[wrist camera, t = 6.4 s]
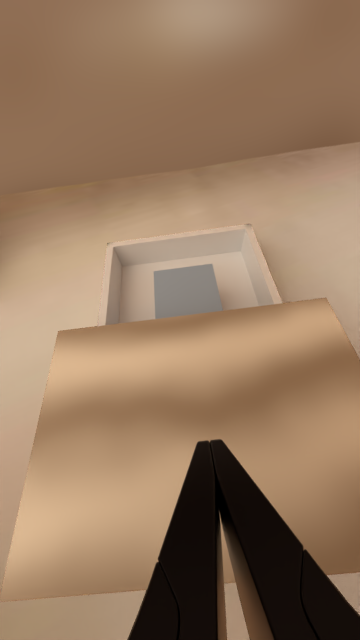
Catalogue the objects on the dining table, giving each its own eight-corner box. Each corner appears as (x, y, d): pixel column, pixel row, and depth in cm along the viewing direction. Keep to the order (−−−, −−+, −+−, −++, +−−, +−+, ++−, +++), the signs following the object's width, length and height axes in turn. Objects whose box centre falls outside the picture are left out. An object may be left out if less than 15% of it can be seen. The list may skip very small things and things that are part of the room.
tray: (279, 349, 22) (294, 332, 18) (110, 368, 22) (93, 356, 19) (244, 248, 29) (250, 223, 26) (118, 265, 30) (107, 243, 26)
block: (226, 324, 18) (212, 263, 21) (155, 332, 18) (153, 271, 21) (221, 346, 22) (210, 293, 25) (164, 353, 22) (161, 299, 26)
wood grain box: (349, 507, 16) (468, 563, 9) (85, 531, 16) (-2, 602, 9) (287, 341, 22) (326, 297, 15) (101, 363, 23) (58, 331, 16)
